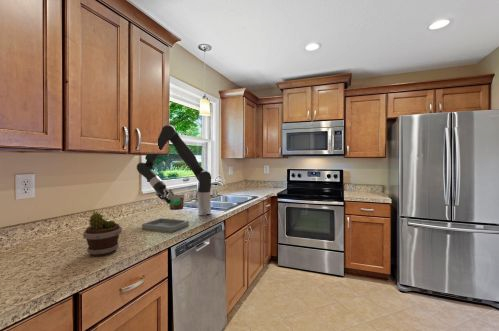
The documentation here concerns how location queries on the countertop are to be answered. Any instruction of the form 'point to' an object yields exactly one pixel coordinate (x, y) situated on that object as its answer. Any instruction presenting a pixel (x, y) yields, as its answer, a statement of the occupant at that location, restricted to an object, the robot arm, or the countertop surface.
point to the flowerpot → (102, 235)
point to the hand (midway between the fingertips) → (172, 202)
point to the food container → (176, 202)
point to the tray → (165, 225)
